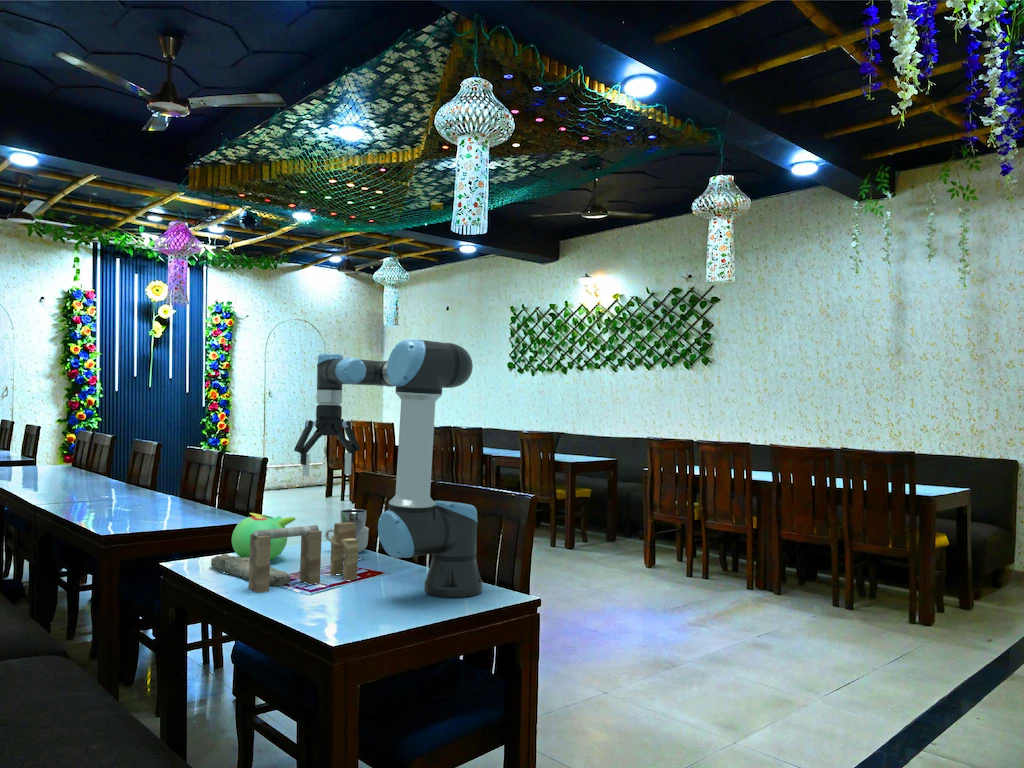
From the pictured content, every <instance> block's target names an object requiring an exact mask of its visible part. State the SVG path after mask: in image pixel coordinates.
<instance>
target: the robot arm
mask: <svg viewBox="0 0 1024 768" xmlns="http://www.w3.org/2000/svg"><path fill="white" fill-rule="evenodd" d="M473 364H474V363H473V360H472V357H471V355H470V354H469V352H468V351H467V350H466V349H465V348H464V347H463V346H460V345H458V344H456V343H453V342H452V343H451V342H441V341H440V342H439V341H433V340H425V339H418V338H417V339H403V340H400V341H399V342H398V343H396V345H394V348H392V350H391V351H390V354H389V357H388V360H371V359H359V358H357V357H344V356H343V354H341V353H336V352H334V353H333V352H326V353H325V352H322V353H320V354H318V356H317V364H316V400H315V401H316V403H317V405H316V408H315V410H316V411H315V421H313V420H310V419H308V420H305V424H304V428H303V431H302V432H301V435H300V437H299V439H298V441H297V442H296V445H295V446H294V449H293V451H294V452H297V453H299V454H300V457H299V458H300V462H299V464H300V465H301V466H302V477H310V459H311V454H310V453H308V452H310V450H311V449H312V447H314V445H315V444H316V442H318V440H319V439H320V438H321V437H323V436H325V437H326V436H327V437H328V436H332V437H333V436H335V437H336V438H337V440H338V441H339V442H340V444H341V445H342V446H343V447H344V449H345V450H346V451H347V452H345V453H344V475H348V476H350V475H352V464H354V461H355V454H356V452H359V451H361V447H360V445H359V442H358V440H357V437H356V436H355V433H354V431H353V428H352V421H351V420H344V421H342V416H343V415H342V413H343V407H342V405H341V404H343V385H354V386H356V385H357V386H376V387H377V386H380V387H391V388H392V387H395V392H394V393H395V394H396V395H397V397H398V398H399V399H400V413H399V414H400V415H399V430H398V445H397V446H398V447H397V449H398V451H397V465H396V466H397V467H396V480H395V481H396V483H395V495H394V496H393V497H392V498H391V499H389V501H388V509H387V510H385V511H383V512H381V514H380V517H379V518H378V521H377V533H378V538H379V539H378V540H379V541H380V544H381V546H382V548H383V550H384V551H385V553H386V554H387V555H388V556H390V557H392V558H395V559H402V558H405V559H409V558H410V559H411V558H412V557H419V556H420V557H421V556H427V555H431V561H430V565H429V568H428V572H427V573H426V574H427V575H426V577H425V578H426V579H425V581H424V592H425V593H426V595H427V594H428V595H429V596H434V597H438V596H439V598H449V597H458V598H466V597H465V596H469V597H473V596H472V595H474V596H476V595H475V594H477V595H479V594H481V593H482V592H483V580H482V578H481V574H480V570H479V565H478V563H477V540H478V539H477V537H478V524H479V520H478V510H477V508H476V507H475V505H472V504H470V503H469V504H468V503H463V502H457V501H456V502H455V501H446V500H433V499H432V497H431V485H432V484H431V483H432V467H433V450H434V435H435V434H434V431H435V415H436V402H437V401H438V400H439V399H440V398H441V397H442V395H443V388H444V389H451V388H456V387H460V386H462V385H463V384H465V383H466V382H467V381H468V380H469V379H470V378H471V375H472V373H473V368H474V366H473ZM342 427H343V429H344V432H345V434H346V436H347V438H346V436H345V435H344V433H343V431H342V429H341V428H342ZM313 428H315V429H316V430H315V431H314V432H313V434H312V435H311V437H310V438H309V436H310V434H311V432H312V430H313ZM308 438H309V439H308ZM307 440H308V441H307ZM481 591H482V592H481ZM480 592H481V593H480ZM478 593H479V594H478Z"/></svg>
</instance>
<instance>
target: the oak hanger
mask: <svg viewBox="0 0 1024 768" xmlns="http://www.w3.org/2000/svg"><path fill="white" fill-rule="evenodd" d="M333 529H334V533H333V535H331V536H330V537H331V542H330V567H329V569H330V570H329V571H330V572H329V574H332V575H336V574H342V573H343V580H344V579H345V580H354V579H357V580H358V562H359V561H358V557H359V556H358V555H359V553H358V540H357V539H354V538H355V531H356V523H353V522H345V523H341V522H338V523H337V522H335V523H334V526H333ZM344 547H345V553H344ZM332 575H331V576H332Z"/></svg>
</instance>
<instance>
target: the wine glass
mask: <svg viewBox="0 0 1024 768" xmlns="http://www.w3.org/2000/svg"><path fill="white" fill-rule="evenodd" d="M345 522H353V523H356V531H355V538H354V539H356V538H357V536H358V535H359V534H360V533H361V531H362V530H363V529H364V526H365V527H366V522H367V510H365V509H362V508H361V509H360V508H359V509H358V508H357V509H356V508H352V509H351V508H350V509H349V508H348V509H347V508H346V509H341V510H340V523H345ZM361 558H362V556H358V559H361Z"/></svg>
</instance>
